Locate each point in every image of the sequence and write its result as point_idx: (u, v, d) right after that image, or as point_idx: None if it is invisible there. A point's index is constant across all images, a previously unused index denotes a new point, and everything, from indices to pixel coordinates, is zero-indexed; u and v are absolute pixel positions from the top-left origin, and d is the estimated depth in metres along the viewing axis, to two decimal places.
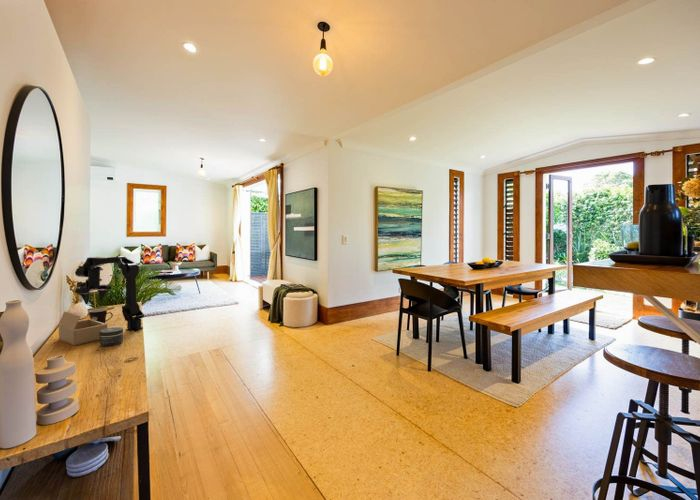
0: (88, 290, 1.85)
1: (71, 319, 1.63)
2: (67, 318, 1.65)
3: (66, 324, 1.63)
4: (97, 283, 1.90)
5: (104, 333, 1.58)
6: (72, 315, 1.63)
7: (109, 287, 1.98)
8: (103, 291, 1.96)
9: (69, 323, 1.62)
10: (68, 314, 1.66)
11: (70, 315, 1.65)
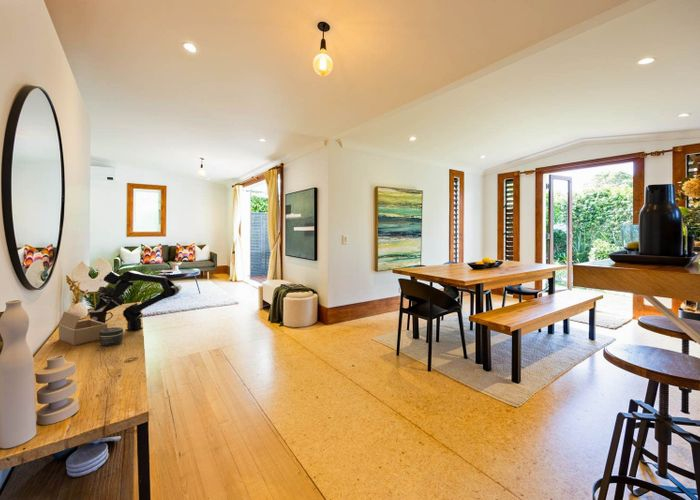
0: None
1: (71, 319, 1.63)
2: (67, 318, 1.65)
3: (66, 324, 1.63)
4: None
5: (104, 333, 1.58)
6: (72, 315, 1.63)
7: None
8: (105, 302, 1.83)
9: (69, 323, 1.62)
10: (68, 314, 1.66)
11: (70, 315, 1.65)
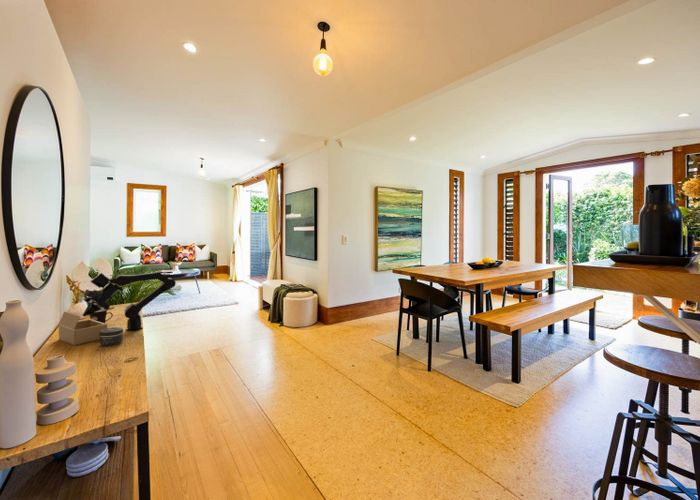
0: None
1: (71, 319, 1.63)
2: (67, 318, 1.65)
3: (66, 324, 1.63)
4: None
5: (104, 333, 1.58)
6: (72, 315, 1.63)
7: None
8: None
9: (69, 323, 1.62)
10: (68, 314, 1.66)
11: (70, 315, 1.65)
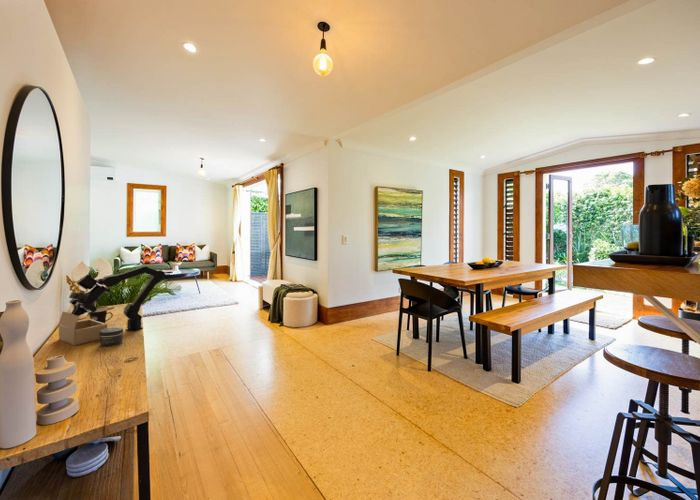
0: None
1: (70, 319, 1.62)
2: (66, 318, 1.64)
3: (65, 324, 1.63)
4: None
5: (104, 333, 1.58)
6: (71, 315, 1.63)
7: None
8: None
9: (69, 323, 1.62)
10: (67, 314, 1.65)
11: (69, 315, 1.64)
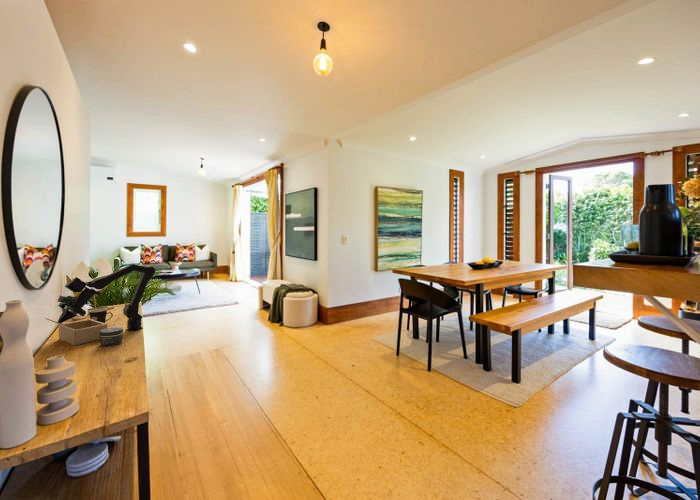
0: None
1: None
2: None
3: None
4: None
5: (104, 333, 1.58)
6: (55, 322, 1.57)
7: None
8: None
9: None
10: None
11: (53, 321, 1.59)
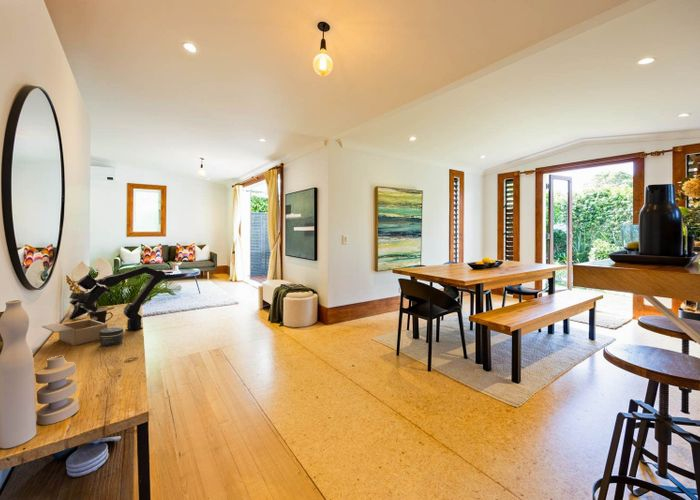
0: None
1: None
2: None
3: None
4: None
5: (104, 333, 1.58)
6: None
7: None
8: None
9: None
10: None
11: None
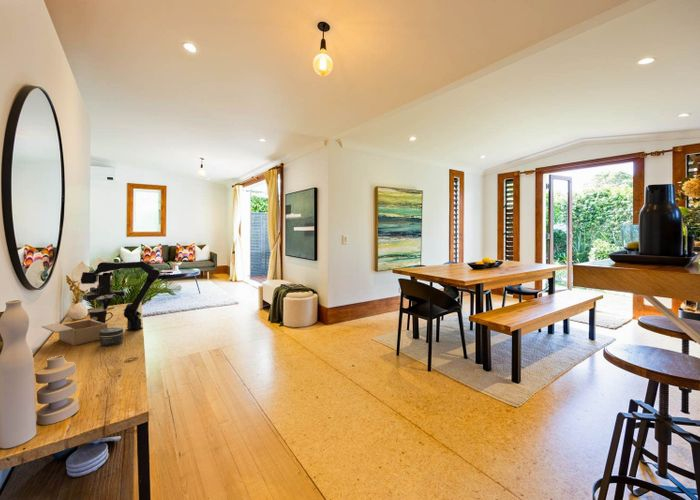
0: (94, 297, 1.74)
1: None
2: None
3: None
4: (106, 289, 1.79)
5: (104, 333, 1.58)
6: None
7: (122, 294, 1.87)
8: (107, 299, 1.81)
9: None
10: None
11: None
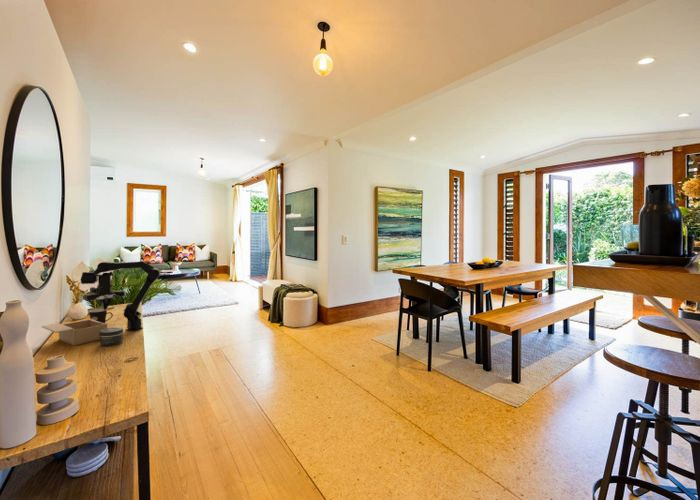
0: (94, 297, 1.74)
1: None
2: None
3: None
4: (106, 289, 1.79)
5: (104, 333, 1.58)
6: None
7: (122, 294, 1.87)
8: (107, 299, 1.81)
9: None
10: None
11: None
